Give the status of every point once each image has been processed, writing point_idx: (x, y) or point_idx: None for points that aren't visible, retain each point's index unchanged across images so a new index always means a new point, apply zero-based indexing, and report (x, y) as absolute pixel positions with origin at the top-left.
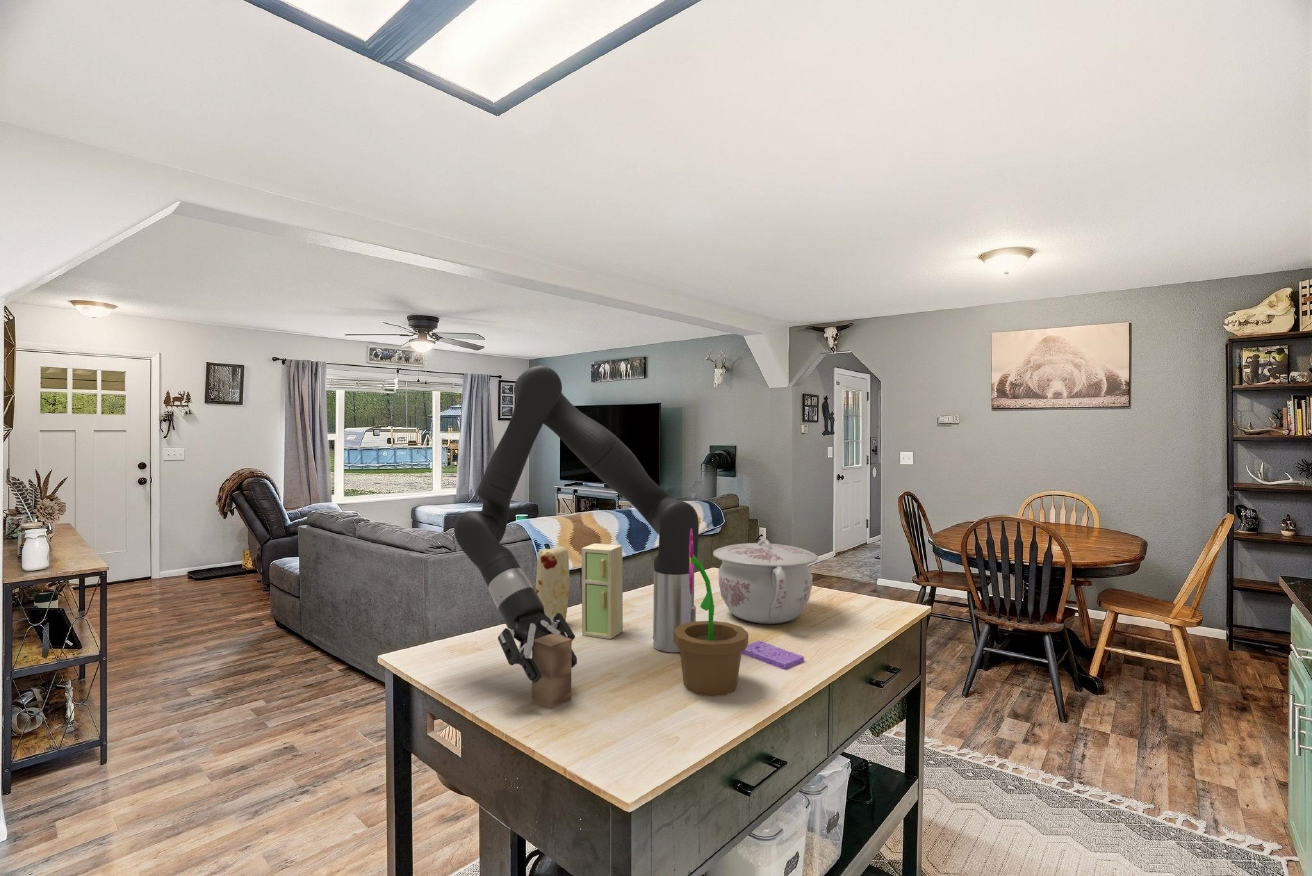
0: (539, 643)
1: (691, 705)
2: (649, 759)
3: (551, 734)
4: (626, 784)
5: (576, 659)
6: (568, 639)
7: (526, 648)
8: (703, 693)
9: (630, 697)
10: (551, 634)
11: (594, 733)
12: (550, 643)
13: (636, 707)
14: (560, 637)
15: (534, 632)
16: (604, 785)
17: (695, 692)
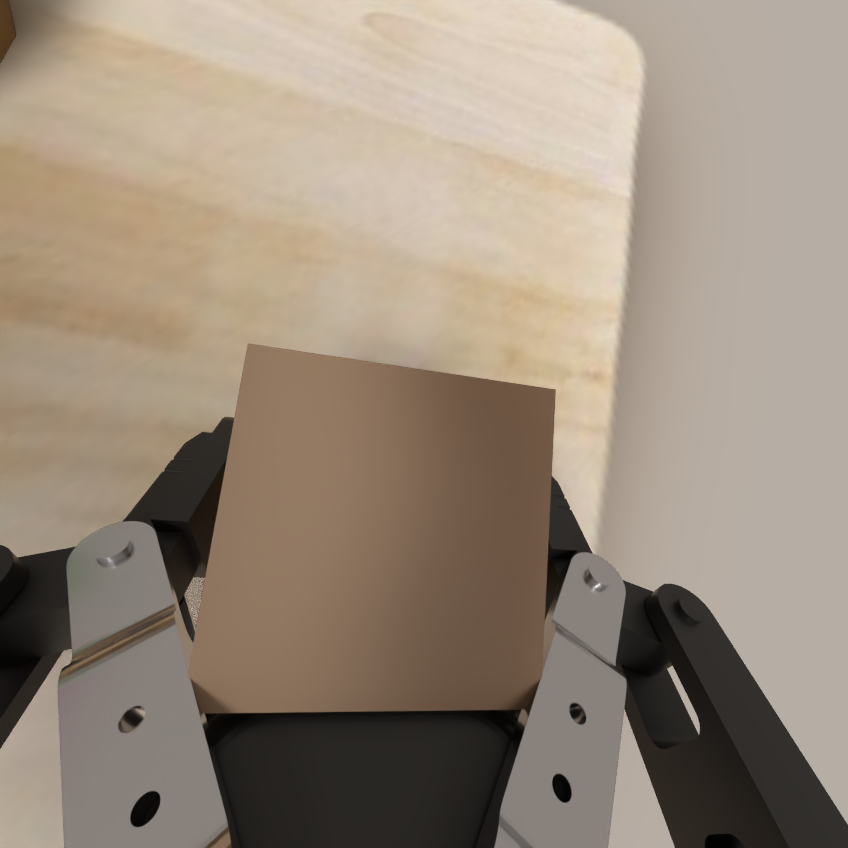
0: (543, 565)
1: (135, 33)
2: (503, 50)
3: (551, 325)
4: (608, 61)
5: (203, 435)
6: (285, 364)
7: (605, 637)
8: (6, 5)
9: (189, 245)
10: (238, 684)
11: (479, 224)
12: (495, 452)
13: (257, 191)
14: (274, 495)
15: (500, 823)
16: (636, 99)
17: (7, 40)
